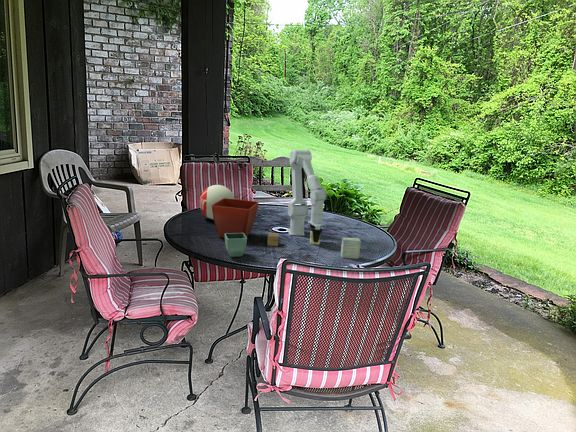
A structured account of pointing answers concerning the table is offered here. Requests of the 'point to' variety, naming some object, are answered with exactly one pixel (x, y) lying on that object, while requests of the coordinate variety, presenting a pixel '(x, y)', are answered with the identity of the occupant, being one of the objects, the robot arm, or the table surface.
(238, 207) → the plant pot
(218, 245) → the table surface
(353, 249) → the medicine box
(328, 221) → the table surface
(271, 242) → the tan wooden cube
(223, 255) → the table surface
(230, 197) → the decorative sphere
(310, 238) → the oak block
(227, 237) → the flower pot
